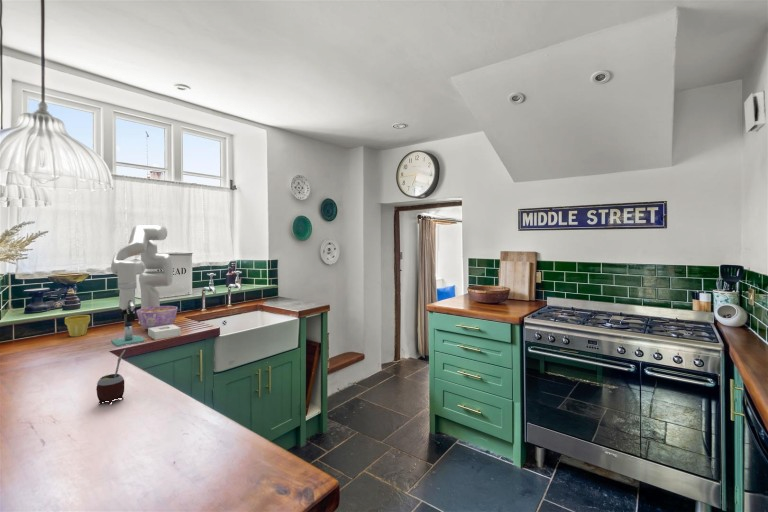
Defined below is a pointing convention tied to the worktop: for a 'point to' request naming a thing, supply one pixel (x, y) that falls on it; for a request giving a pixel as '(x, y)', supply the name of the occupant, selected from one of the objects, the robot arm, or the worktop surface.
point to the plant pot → (77, 324)
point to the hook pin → (128, 329)
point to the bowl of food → (157, 316)
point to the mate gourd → (111, 386)
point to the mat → (122, 341)
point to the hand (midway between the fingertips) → (128, 320)
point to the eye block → (164, 331)
